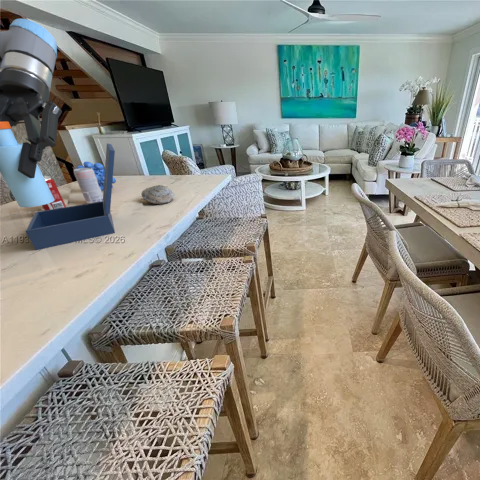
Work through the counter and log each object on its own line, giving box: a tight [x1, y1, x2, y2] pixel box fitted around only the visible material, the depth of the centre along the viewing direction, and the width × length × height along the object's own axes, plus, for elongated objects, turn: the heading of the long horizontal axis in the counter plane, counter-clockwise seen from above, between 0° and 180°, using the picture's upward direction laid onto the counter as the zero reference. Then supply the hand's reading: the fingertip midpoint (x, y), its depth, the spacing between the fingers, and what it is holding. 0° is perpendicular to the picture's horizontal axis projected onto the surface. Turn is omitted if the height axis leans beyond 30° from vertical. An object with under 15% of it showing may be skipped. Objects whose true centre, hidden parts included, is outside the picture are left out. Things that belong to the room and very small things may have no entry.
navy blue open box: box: [25, 201, 116, 251], centre depth 72 cm, size 16×16×6 cm
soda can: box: [41, 175, 67, 211], centre depth 83 cm, size 5×5×12 cm
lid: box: [102, 143, 116, 214], centre depth 72 cm, size 16×16×1 cm
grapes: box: [76, 161, 117, 192], centre depth 106 cm, size 12×7×12 cm, turn 119°
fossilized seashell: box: [141, 184, 176, 205], centre depth 97 cm, size 11×11×7 cm
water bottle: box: [0, 121, 54, 208], centre depth 54 cm, size 6×6×16 cm
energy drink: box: [73, 168, 103, 204], centre depth 94 cm, size 5×5×12 cm
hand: (6, 175), depth 51 cm, fingers closed on water bottle, 6 cm apart
